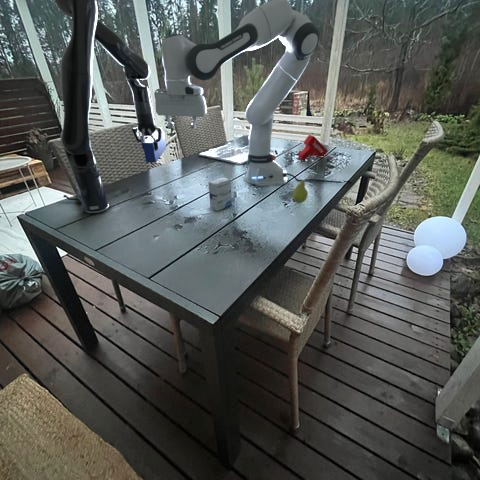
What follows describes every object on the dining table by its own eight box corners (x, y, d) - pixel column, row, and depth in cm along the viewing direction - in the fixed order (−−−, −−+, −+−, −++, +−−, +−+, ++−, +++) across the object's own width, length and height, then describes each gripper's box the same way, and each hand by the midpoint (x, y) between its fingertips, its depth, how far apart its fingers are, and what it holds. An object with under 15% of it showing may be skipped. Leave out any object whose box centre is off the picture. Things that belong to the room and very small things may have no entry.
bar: (158, 148, 155) (155, 131, 150) (166, 148, 155) (163, 130, 150) (146, 162, 132) (142, 142, 127) (156, 162, 133) (152, 142, 127)
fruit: (288, 200, 123) (290, 174, 116) (302, 197, 125) (305, 172, 119) (296, 206, 118) (299, 179, 111) (310, 203, 120) (314, 177, 114)
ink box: (224, 201, 122) (223, 176, 116) (231, 205, 119) (231, 179, 113) (209, 207, 117) (207, 181, 111) (217, 211, 114) (215, 184, 108)
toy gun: (299, 156, 169) (313, 135, 166) (294, 155, 172) (308, 134, 169) (314, 170, 180) (328, 150, 177) (310, 169, 183) (323, 149, 180)
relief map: (240, 164, 168) (240, 156, 165) (199, 155, 186) (198, 147, 183) (263, 154, 186) (264, 146, 184) (224, 147, 204) (224, 140, 201)
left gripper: (125, 113, 120) (134, 152, 129) (158, 113, 121) (164, 152, 130) (130, 111, 127) (138, 148, 136) (161, 111, 127) (167, 148, 136)
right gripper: (149, 89, 101) (155, 128, 108) (200, 89, 96) (203, 131, 103) (157, 87, 106) (163, 125, 113) (206, 88, 101) (209, 127, 109)
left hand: (151, 150), depth 133 cm, fingers closed on bar, 4 cm apart
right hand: (182, 128), depth 108 cm, fingers open, 8 cm apart
